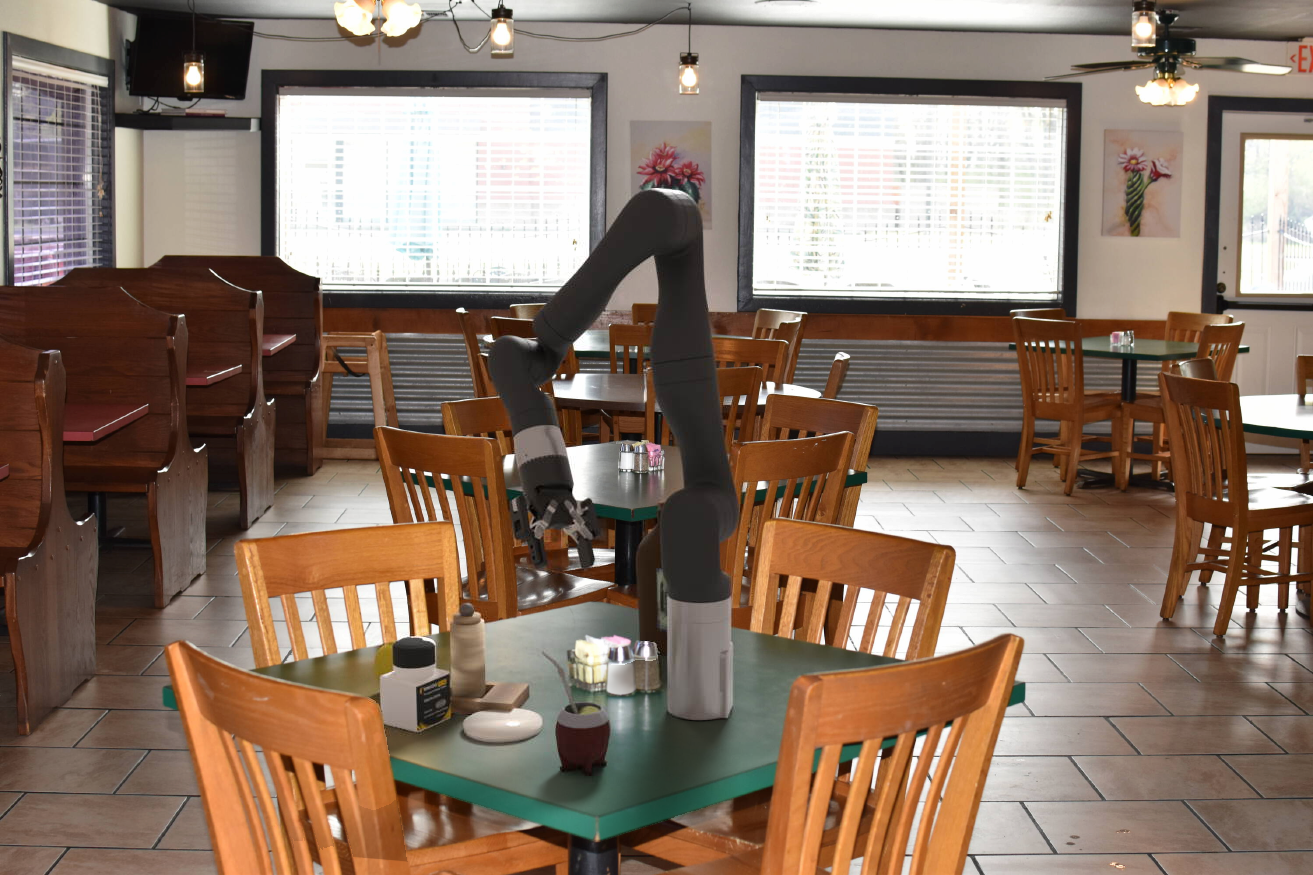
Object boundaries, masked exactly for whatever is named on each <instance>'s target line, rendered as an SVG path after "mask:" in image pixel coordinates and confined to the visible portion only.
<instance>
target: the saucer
mask: <svg viewBox="0 0 1313 875" xmlns="http://www.w3.org/2000/svg"><path fill="white" fill-rule="evenodd" d="M462 723H463V725H462V726H463V727H462V728H463V729H462V730H463V734H466V736H467V737H468V738H470V739H472V740H475V741H480V742H484V743H485V742H486V743H512V742H518V741H523V740H526V739H530V738H532V737H535V736H536V735H538V734H539V733H540V732H541V731H542V730H543V719H542V716H541V715H540V714H538V713H537V712H535V711H532V710H528V709H524V708H520V709H518V708H514V709H513V710H496V709H489V710H484V711H480V712H477V713H474V714H472V715H469V716H467V717H466V718H465V719H464V720H463V722H462Z"/></svg>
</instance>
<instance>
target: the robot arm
mask: <svg viewBox="0 0 1313 875" xmlns="http://www.w3.org/2000/svg"><path fill="white" fill-rule="evenodd" d="M704 247H705V246H704V225H703V218H702V214H701V211H700V208H699V206H698V204H697V202H696V201H695V200H694V199H693V197H691V195H690V194H688V193H687V192H684V191H682V190H676V189H671V188H660V187H659V188H658V187H657V188H656V187H654V188H652V187H651V188H647V189H643V190H640V191H638V192H637V193H635V194H634V195H633V196H632V197H631V198H630V199H629V200H628V201H627V203H626V204H625V206H623V207H622V209H621V210H620V212H619V214H618V215H617V216H616V218H615V219H614V221H613V223H612V224H611V225H610V227H609V229H608V230H607V231H606V233H605V234H604V236H603V237H602V238H601V240H600V241H599V242H598V244H597V245H596V246H595V248H594V249H593V250H592V252H591V253H590V254H589V256H588V257H587V258H586V259H585V261H584V262H583V263H582V265H580V267H579V268H578V269H577V270H576V272H575V273H573V275H572V276H571V277H570V278H569V279H568V280H567V281H566V282H565V283H564V285H562V286H561V287H560V288H559V289H558V290H557V292H555V293H554V295H552V297H550V298H549V300H548V301H547V302H546V303H545V304H544V305H543V306H542V307H540V308H539V310H538V311H537V312H536V314H535V315H534V317H533V319H532V329H533V332H534V333H535V335H536V338H535V339H534V340H531V339H527V338H522V337H519V336H516V335H501V336H499V337H498V338H496V339H495V340H494V341H493V342H492V344H491V346H490V347H489V350H488V354H487V369H488V374H489V377H490V379H491V382H492V384H493V386H494V388H495V390H496V392H497V394H498V396H499V398H500V401H501V403H502V404H503V406H504V408H505V410H506V412H507V414H508V418H509V424H510V428H511V434H512V438H513V443H514V448H513V449H514V456H515V461H516V465H517V470H518V474H519V479H520V480H519V481H520V485H521V490H522V494H519V496H516V497H515V498H514V499H512V500H510V501H509V502H508V506H509V513H510V520H511V525H512V532H513V538H514V539H515V540H516V541H520V540H521V541H524V542H525V544H526V545H527V546H528V551H529V555H530V559H531V561H530V562H531V563H532V565H533V566H534V568H535V569H536V570H541V569H544V568H546V567H547V566H548V564H549V562H548V561H549V560H548V557H547V551H546V547H545V542H544V539H541V538H542V537H543V534H544V533H545V530H551V529H554V530H557V531H558V530H559V531H560V530H561V531H563V532H564V533H565V535H567V536H570V537H571V538H572V540H574V542H575V543H576V544H577V545H576V550H577V554H578V559H579V565H580V568H581V569H582V570H588V569H590V568H591V567H593V566H594V565H595V562H596V557H595V553H594V548H593V545H592V544H593V543H592V541H593V540H594V539H596V538H597V537H600V536H601V534H602V532H601V527H600V525H599V520H598V518H597V513H596V510H595V505H594V503H593V502H594V501H593V500H592V499H591V497H588V498H585V499H583V500H577V499H576V498H575V496H574V493H573V492H574V490H573V489H574V486H575V484H574V478H573V474H572V469H571V465H570V460H569V455H568V452H567V451H568V450H567V447H566V443H565V440H564V438H563V434H562V432H561V427H560V423H559V419H558V414H557V410H556V406H555V403H554V401H553V399H552V397H551V396H550V395H549V394H547V393H545V392H543V391H542V390H540V388H539V387H541V386H543V385H545V384H546V383H548V382H549V381H551V380H552V378H554V377H555V375H556V373H557V372H558V370H559V368H560V366H561V365H562V363H563V361H565V359H566V357H567V355H568V352H569V350H570V349H571V347H572V345H574V343H575V342H576V341H577V340H579V338H580V337H582V335H584V334H585V332H587V331H588V330H589V328H591V327H592V325H594V323H595V322H596V321H597V320H598V319H599V318H600V316H602V314H603V312H604V311H605V309H606V307H607V306H608V304H609V302H610V301H611V299H612V297H613V295H614V293H615V291H616V290H617V288H618V286H620V284H621V283H622V281H623V280H625V278H626V277H627V276H629V274H630V273H631V272H633V271H634V270H635V269H636V268H637V267H639V266H640V265H641V264H643V263H644V262H646V261H647V260H649V259H650V258H651V257H653V260H654V264H655V270H656V277H657V286H658V294H657V295H658V297H657V307H656V311H655V315H654V321H653V325H652V329H651V334H650V342H649V343H650V344H649V361H650V369H651V377H652V383H653V386H652V387H653V390H654V394H655V398H656V399H655V400H656V402H657V405H658V407H659V410H660V412H661V414H662V415H663V418H664V420H665V422H666V424H667V425H668V427H669V429H670V431H671V433H672V435H673V437H674V439H675V441H676V444H677V446H678V450H679V453H680V454H679V456H680V461H681V468H682V478H683V479H682V480H683V488H681V489H678V490H676V491H675V492H673V493H671V494H670V495H669V496H668V497H667V498H666V499H665V500H666V501H665V503H664V505H663V508H662V512H661V518H660V542H661V564H662V572H663V576H664V579H665V581H666V584H667V656H666V657H667V660H666V662H667V665H666V666H667V668H666V671H667V672H666V673H667V677H666V678H667V680H666V681H667V683H666V684H667V685H666V686H667V694H666V697H667V698H666V699H667V711H668V713H669V714H670V715H672V716H674V717H676V718H679V719H684V720H691V721H708V720H715V719H728V718H729V716H730V713H731V710H732V708H733V706H734V642H732V579H731V577H730V575H729V574H728V573H727V572H725V571H723V570H722V566H721V547H720V544H721V543H724V542H725V541H726V540H727V541H728V539H730V538H731V537H732V535H733V534H734V533H735V531H736V530H737V527H738V525H739V522H740V504H739V499H738V495H737V491H736V485H735V481H734V479H733V473H732V468H731V466H730V461H729V456H728V451H727V445H726V440H725V439H726V438H725V430H724V423H723V414H722V405H721V399H720V391H719V390H720V389H719V378H718V370H717V362H716V355H715V354H716V353H715V348H714V344H713V338H712V329H711V321H710V313H709V304H708V300H707V292H706V291H707V290H706V282H705V280H706V279H705V252H704V250H705V249H704ZM529 513H530V514H531V515H532V519H531V520H530V517H529ZM572 523H574V524H572Z"/></svg>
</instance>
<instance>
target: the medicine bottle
mask: <svg viewBox="0 0 1313 875" xmlns="http://www.w3.org/2000/svg"><path fill="white" fill-rule="evenodd" d="M394 642H395V643H394V644H393V646H392V650H393V670H394V671H392V672H390V673H387V674H384V675H382V676H380V684H379V694H380V696H379V697H380V698H379V699H380V711H381V710H382V714H383V719H384V724H385V726H389V727H392V728H396V727H397V729H400V728H401V729H400V730H404V729H405V731H408V732H412V731H413V733H416V732H417V733H418V732H419V733H421V732H423V731H425V729H426V730H427V729H429V728H430V729H431V728H432V727H435V726H437V725H439V724H441V723H444V722H446V721H448V720H450V719H451V717H452V716H451V714H452V713H451V704H450V679H451V672H450V671H449V670H445V669H442V668H437V650H436V649H437V644H436V642H435V641H434V640H433V639H432V638H428V637H425V636H419V635H418V636H416V635H414V636H407V637H403V638H399V639H398V640H396V641H394ZM384 724H383V725H384ZM434 725H435V726H434ZM419 733H418V734H419Z"/></svg>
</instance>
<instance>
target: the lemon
mask: <svg viewBox="0 0 1313 875" xmlns="http://www.w3.org/2000/svg"><path fill="white" fill-rule="evenodd" d="M395 642H396V641H395V640H390V641H389V642H388V643H385V644H384V645H382V646H381V647H380V648H378V651H377V652H376V654H375V657H374V662H373V663H374V664H373V672H374V677H375V679H376V681H377V683H378V684H379V685H380V676H382V675H384V674H387V673H390V672H392V671H394V670H393V650H392V646H393V644H394V643H395Z"/></svg>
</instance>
